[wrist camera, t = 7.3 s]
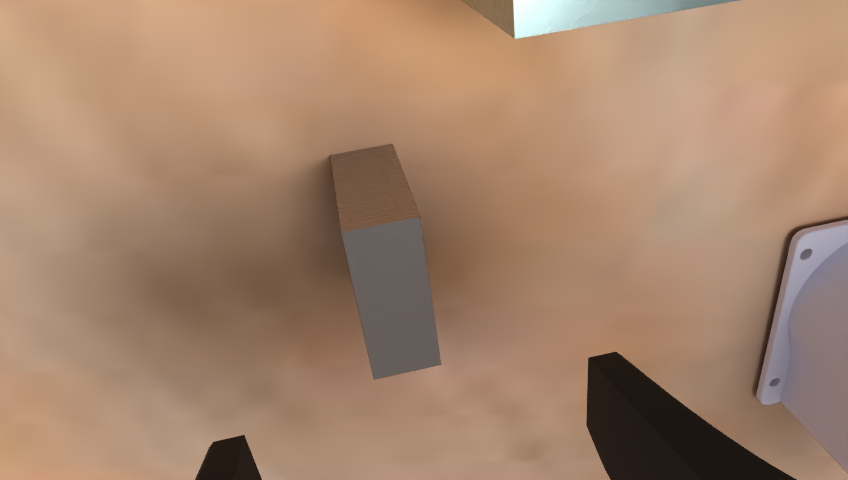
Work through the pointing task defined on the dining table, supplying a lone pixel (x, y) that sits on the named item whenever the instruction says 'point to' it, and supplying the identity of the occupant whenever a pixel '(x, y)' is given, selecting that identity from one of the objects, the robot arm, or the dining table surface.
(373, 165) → the grey tall block
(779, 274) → the dining table surface
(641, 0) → the toaster
